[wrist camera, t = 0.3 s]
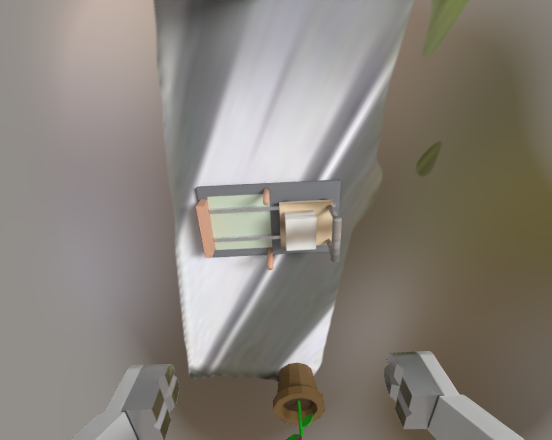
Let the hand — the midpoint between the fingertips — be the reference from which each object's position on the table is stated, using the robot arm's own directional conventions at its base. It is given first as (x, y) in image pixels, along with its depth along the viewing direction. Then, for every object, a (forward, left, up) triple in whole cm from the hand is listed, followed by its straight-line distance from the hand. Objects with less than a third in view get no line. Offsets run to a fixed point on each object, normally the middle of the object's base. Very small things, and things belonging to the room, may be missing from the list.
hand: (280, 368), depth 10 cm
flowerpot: (+68, +4, -47) cm, 83 cm away
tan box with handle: (+16, +7, -46) cm, 49 cm away
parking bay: (+15, -8, -46) cm, 49 cm away
